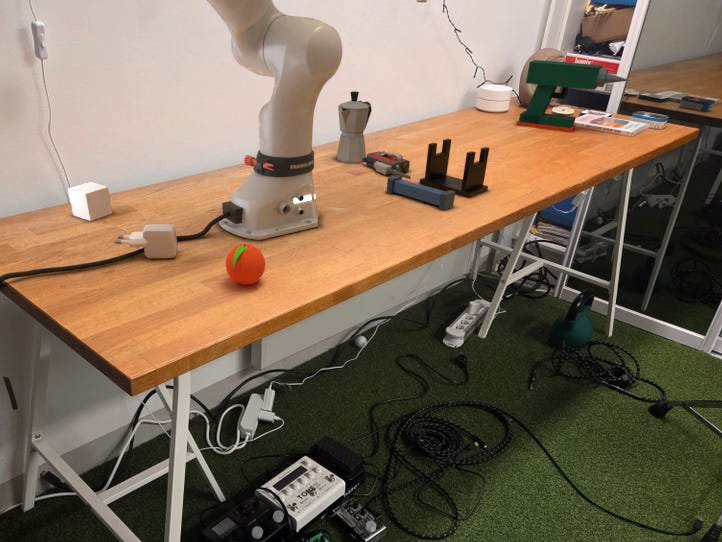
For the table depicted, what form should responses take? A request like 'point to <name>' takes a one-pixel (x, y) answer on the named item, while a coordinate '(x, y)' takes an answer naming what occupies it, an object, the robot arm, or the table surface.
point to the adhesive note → (90, 201)
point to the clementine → (245, 264)
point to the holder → (463, 187)
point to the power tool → (566, 77)
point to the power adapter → (153, 240)
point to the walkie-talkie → (388, 163)
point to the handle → (421, 192)
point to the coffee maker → (353, 129)
